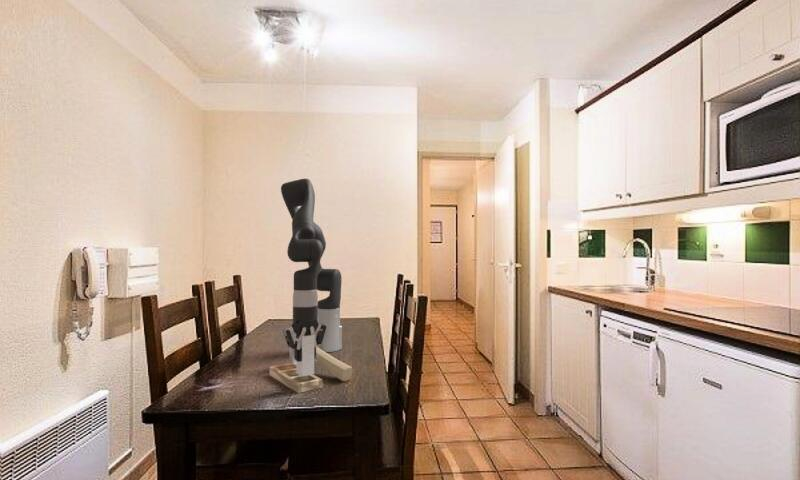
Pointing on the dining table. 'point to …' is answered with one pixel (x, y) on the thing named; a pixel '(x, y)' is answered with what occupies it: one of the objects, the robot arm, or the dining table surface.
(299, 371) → the steel peg
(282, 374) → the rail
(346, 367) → the hammer
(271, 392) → the dining table surface
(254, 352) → the dining table surface
